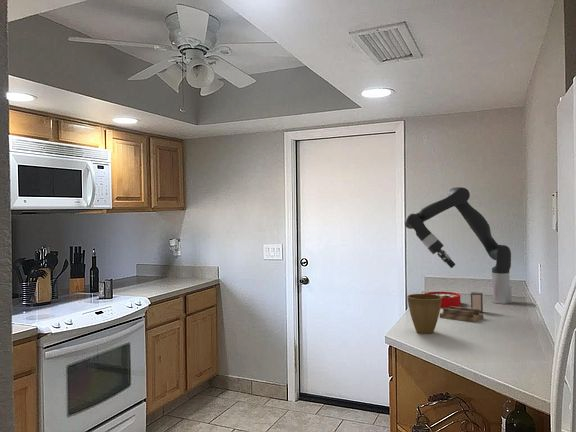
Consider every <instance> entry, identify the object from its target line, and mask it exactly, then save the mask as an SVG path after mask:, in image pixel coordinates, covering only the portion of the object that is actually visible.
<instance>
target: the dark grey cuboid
mask: <svg viewBox="0 0 576 432" xmlns="http://www.w3.org/2000/svg"><path fill="white" fill-rule="evenodd" d="M483 300H484V298H483V292H470V308H471V309H479V314H483V312H484V305H483V304H484V303H483Z"/></svg>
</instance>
